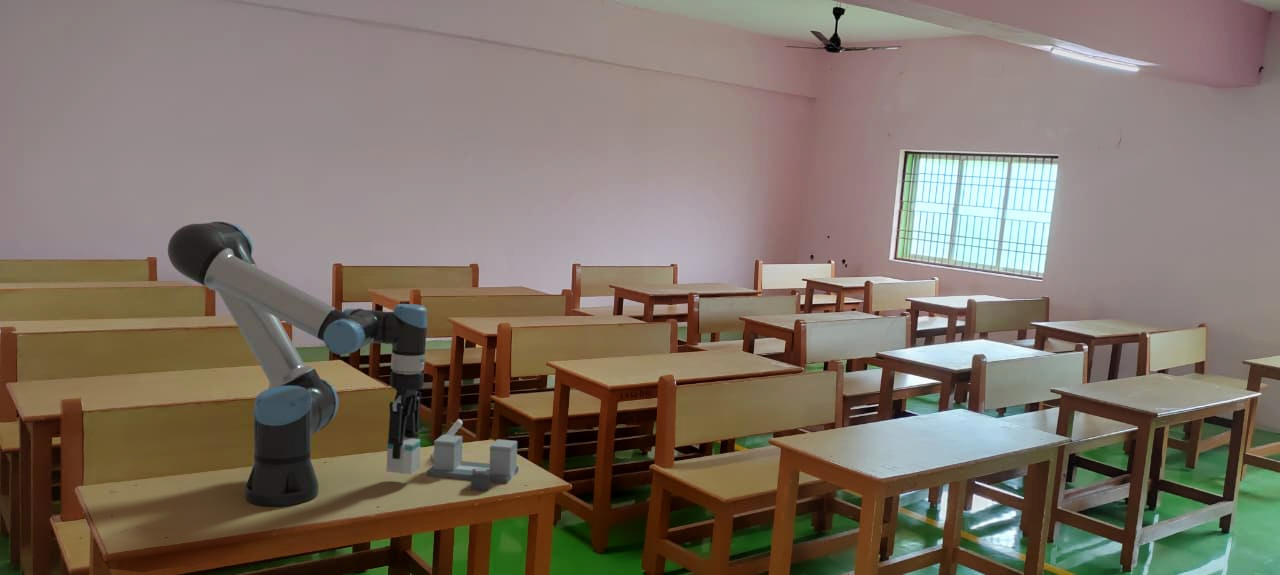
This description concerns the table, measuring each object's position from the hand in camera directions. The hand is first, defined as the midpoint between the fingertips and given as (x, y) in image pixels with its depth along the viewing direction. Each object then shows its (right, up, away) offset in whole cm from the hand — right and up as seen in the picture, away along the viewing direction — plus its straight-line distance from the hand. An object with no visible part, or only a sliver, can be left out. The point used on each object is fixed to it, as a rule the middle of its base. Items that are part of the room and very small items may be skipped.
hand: (401, 467), depth 218 cm
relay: (+19, -5, -1) cm, 19 cm away
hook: (+6, -2, +23) cm, 24 cm away
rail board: (+15, -3, +9) cm, 18 cm away
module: (0, -1, 0) cm, 1 cm away
